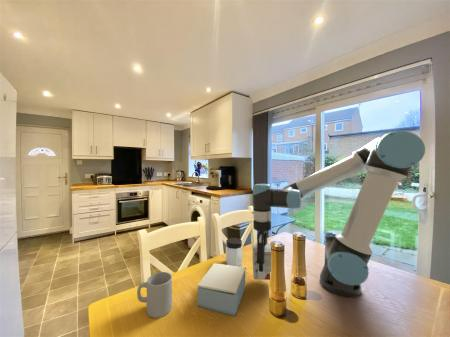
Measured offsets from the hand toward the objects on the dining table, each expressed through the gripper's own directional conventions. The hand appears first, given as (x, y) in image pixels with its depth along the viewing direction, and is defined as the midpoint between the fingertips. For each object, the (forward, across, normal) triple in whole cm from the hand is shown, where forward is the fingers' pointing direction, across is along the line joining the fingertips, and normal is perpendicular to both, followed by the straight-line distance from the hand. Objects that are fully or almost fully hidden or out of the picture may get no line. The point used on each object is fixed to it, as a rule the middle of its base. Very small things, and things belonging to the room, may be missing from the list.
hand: (263, 271), depth 83 cm
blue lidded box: (+5, +13, -14) cm, 20 cm away
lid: (-3, +13, -13) cm, 19 cm away
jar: (+5, -13, -17) cm, 22 cm away
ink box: (+1, 0, 0) cm, 1 cm away
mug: (+5, +27, -35) cm, 44 cm away
